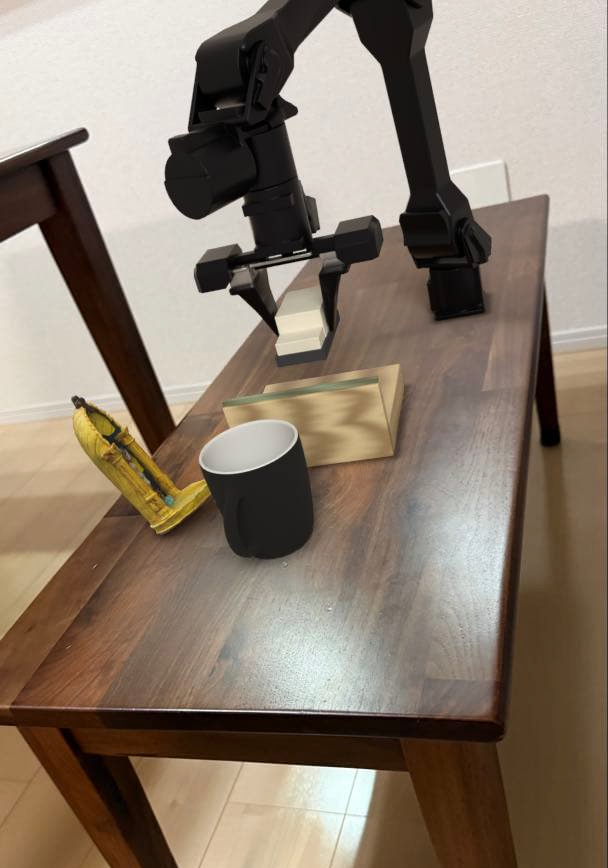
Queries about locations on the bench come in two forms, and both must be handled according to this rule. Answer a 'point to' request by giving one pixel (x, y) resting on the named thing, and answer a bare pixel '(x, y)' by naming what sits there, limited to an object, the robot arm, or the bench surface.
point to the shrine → (134, 469)
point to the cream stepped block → (303, 328)
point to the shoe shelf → (332, 413)
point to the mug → (260, 487)
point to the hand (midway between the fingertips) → (308, 334)
